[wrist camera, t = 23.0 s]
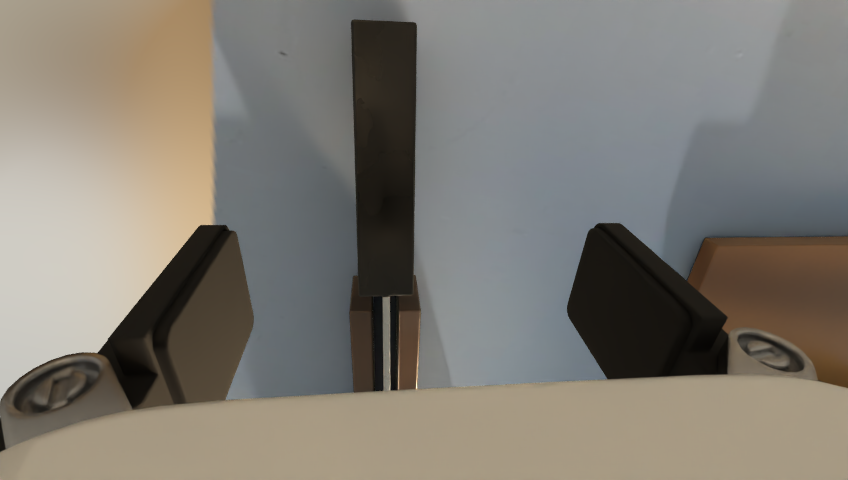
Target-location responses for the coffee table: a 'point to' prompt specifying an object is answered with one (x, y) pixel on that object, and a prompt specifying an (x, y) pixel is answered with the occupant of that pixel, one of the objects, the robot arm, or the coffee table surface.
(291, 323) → the coffee table surface
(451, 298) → the coffee table surface
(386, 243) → the knife
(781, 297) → the board
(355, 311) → the knife holder
